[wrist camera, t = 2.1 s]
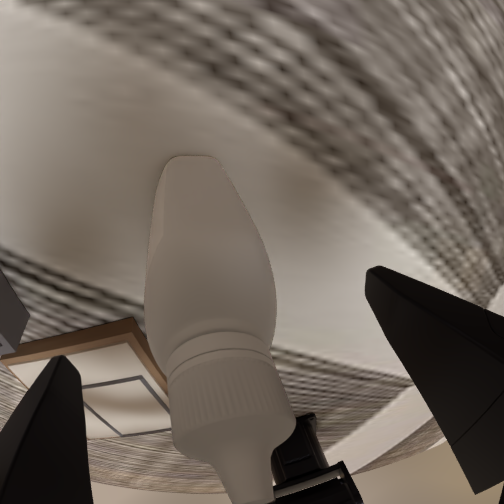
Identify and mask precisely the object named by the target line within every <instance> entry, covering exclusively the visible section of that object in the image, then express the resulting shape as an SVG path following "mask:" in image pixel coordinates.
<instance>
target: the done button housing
mask: <svg viewBox="0 0 504 504" xmlns="http://www.w3.org/2000/svg"><path fill="white" fill-rule="evenodd" d="M29 317H30V315H29V313H28V312H27V311H26V309H25V308H24V306H23V305H22V303H21V302H20V300H19V299H18V297H17V296H16V294H15V293H14V291H13V290H12V288H11V286H10V285H9V283H8V282H7V280H6V278H5V277H4V275H3V273H2V272H1V270H0V355H4V354H9V353H14V352H16V351H17V348H18V345H19V342H20V340H21V337H22V334H23V332H24V329H25V327H26V324H27V322H28V319H29Z"/></svg>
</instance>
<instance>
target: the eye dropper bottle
mask: <svg viewBox="0 0 504 504" xmlns="http://www.w3.org/2000/svg"><path fill="white" fill-rule="evenodd" d="M276 314H277V301H276V290H275V283H274V278H273V273H272V269H271V265H270V261H269V258H268V255H267V253H266V250H265V247H264V244H263V242H262V239H261V237H260V235H259V233H258V231H257V229H256V227H255V225H254V223H253V221H252V219H251V217H250V215H249V213H248V211H247V209H246V208H245V206H244V204H243V202H242V200H241V199H240V197H239V195H238V193H237V191H236V190H235V188H234V186H233V184H232V183H231V181H230V179H229V177H228V176H227V174H226V172H225V170H224V169H223V167H222V165H221V164H220V163H219V161H218V160H217V159H216V158H213V157H210V156H177V157H174V158H172V159H171V160H170V161H169V162H168V163H167V164H166V166H165V168H164V170H163V172H162V174H161V177H160V180H159V182H158V186H157V190H156V194H155V199H154V206H153V213H152V221H151V229H150V238H149V247H148V256H147V267H146V280H145V295H144V320H145V329H146V335H147V339H148V343H149V346H150V349H151V352H152V355H153V357H154V359H155V361H156V363H157V364H158V366H159V368H160V369H161V371H162V372H163V373H164V374H165V376H166V377H167V386H168V398H169V409H170V419H171V428H172V437H173V443H174V446H175V448H176V449H177V450H178V451H179V452H180V453H182V454H183V455H185V456H187V457H189V458H192V459H195V460H199V461H204V462H208V463H210V464H211V465H212V466H213V467H214V468H215V470H216V471H217V473H218V475H219V477H220V479H221V481H222V483H223V485H224V487H225V490H226V492H227V494H228V496H229V498H230V499H231V502H232V504H267V503H269V502H272V501H273V500H274V494H273V484H272V474H271V458H270V457H271V454H272V452H273V450H274V448H276V447H277V446H279V445H280V444H282V443H283V442H284V441H286V440H287V439H288V438H289V437H290V436H291V434H292V433H293V431H294V429H295V426H296V418H295V415H294V413H293V410H292V408H291V405H290V402H289V400H288V397H287V395H286V392H285V390H284V387H283V384H282V382H281V379H280V377H279V374H278V371H277V369H276V366H275V364H274V361H273V358H272V356H271V353H270V347H271V344H272V340H273V337H274V332H275V326H276Z"/></svg>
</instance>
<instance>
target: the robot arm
mask: <svg viewBox="0 0 504 504" xmlns="http://www.w3.org/2000/svg"><path fill="white" fill-rule="evenodd" d="M365 296H366V299H367V301H368V303H369V305H370V307H371V309H372V311H373V312H374V314H375V316H376V318H377V320H378V322H379V324H380V326H381V328H382V330H383V332H384V334H385V336H386V338H387V340H388V342H389V343H390V345H391V347H392V348H393V350H394V351H395V353H396V354H397V356H398V358H399V359H400V361H401V362H402V364H403V366H404V367H405V369H406V370H407V372H408V374H409V375H410V377H411V379H412V380H413V382H414V384H415V385H416V387H417V388H418V390H419V392H420V394H421V395H422V397H423V399H424V400H425V402H426V404H427V405H428V407H429V409H430V411H431V412H432V414H433V416H434V418H435V419H436V421H437V423H438V425H439V426H440V428H441V430H442V432H443V434H444V435H445V437H446V439H447V441H448V443H449V445H450V446H451V449H452V451H453V453H454V454H455V456H456V458H457V460H458V462H459V464H460V466H461V468H462V470H463V472H464V474H465V476H466V478H467V480H468V482H469V484H470V486H471V488H472V490H473V492H474V493H475V495H476V494H478V493H480V492H483V491H484V490H487V489H489V488H491V487H493V486H495V485H496V484H499V483H500V482H502V481H504V317H503V316H501V315H498V314H496V313H494V312H491V311H489V310H487V309H483V308H482V307H480V306H477V305H475V304H473V303H470V302H468V301H466V300H463V299H461V298H459V297H456V296H454V295H452V294H449V293H447V292H445V291H442V290H440V289H437V288H435V287H433V286H430V285H428V284H425V283H423V282H420V281H418V280H416V279H413V278H411V277H408V276H406V275H403V274H401V273H398V272H396V271H393V270H391V269H388V268H386V267H383V266H376V267H373V268H370V269H368V270H367V272H366V281H365ZM270 458H271V471H272V474H273V477H274V480H275V483H276V485H275V486H273V494H274V500H273V501H272V502H269V503H267V504H364V503H363V500H362V498H361V495H360V493H359V491H358V489H357V487H356V485H355V483H354V481H353V479H352V477H351V475H350V474H349V472H348V470H347V468H346V466H345V464H344V462H343V461H340V462H338V463H337V464H335V465H333V466H330V467H329V465H328V462H327V460H326V458H325V455H324V453H323V451H322V448H321V446H320V444H319V441H318V439H317V436H316V416H315V414H310V415H307V416H304V417H301V418H298V419H296V426H295V429H294V431H293V433H292V434H291V436H290V437H289V438H288V439H287V440H286V441H284V442H283V443H282V444H280V445H279V446H277V447H276V448H274V450H273V452H272V454H271V457H270ZM337 476H340V477H341V478H340V479H338V478H337ZM335 477H336V478H335ZM332 478H333V479H332ZM330 479H331V480H330ZM327 480H328V481H327ZM325 481H326V482H325ZM322 482H323V483H322ZM319 483H321V484H319ZM317 484H318V485H317ZM314 485H315V486H314ZM311 486H312V487H311ZM308 487H309V488H308ZM305 488H307V489H305ZM302 489H304V490H302ZM299 490H301V491H299ZM296 491H298V492H296ZM293 492H294V493H293ZM290 493H291V494H290ZM287 494H288V495H287ZM283 495H285V496H283ZM280 496H281V497H280ZM276 497H278V498H276ZM0 504H93V497H92V490H91V482H90V473H89V464H88V452H87V436H86V420H85V411H84V402H83V393H82V381H81V375H80V373H79V371H78V370H77V369H76V367H75V366H74V365H73V364H72V363H71V362H70V360H69V359H68V358H67V357H66V356H64V355H59V356H54V357H52V358H51V359H50V361H49V362H48V363H47V365H46V366H45V367H44V369H43V370H42V371H41V373H40V374H39V376H38V377H37V378H36V380H35V381H34V383H33V384H32V385H31V387H30V388H29V390H28V391H27V392H26V394H25V395H24V397H23V398H22V400H21V401H20V403H19V404H18V406H17V407H16V409H15V410H14V412H13V413H12V415H11V416H10V418H9V419H8V421H7V422H6V424H5V426H4V427H3V429H2V430H1V432H0ZM499 504H504V486H503V489H502V493H501V497H500V501H499Z"/></svg>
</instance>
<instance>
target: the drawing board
mask: <svg viewBox="0 0 504 504" xmlns="http://www.w3.org/2000/svg"><path fill="white" fill-rule="evenodd" d="M59 355H64V356H66V357H67V358H68V359H69V360H70V362H71V363H72V364H73V365H74V366H75V367H76V369H77V370H78V371H79V373H80V375H81V381H82V393H83V402H84V411H85V420H86V436H87V439H88V440H91V439H105V438H116V437H129V436H137V435H145V434H152V433H158V432H164V431H170V430H172V428H171V419H170V409H169V398H168V386H167V377H166V376H165V374H164V373H163V372H162V371H161V369H160V368H159V366H158V364H157V363H156V361H155V359H154V357H153V355H152V352H151V349H150V346H149V343H148V342H147V340H146V338H145V337H144V335H143V333H142V332H141V330H140V328H139V327H138V325H137V323H136V322H135V320H134V318H133V317H131V318H127V319H123V320H119V321H115V322H111V323H108V324H104V325H100V326H96V327H92V328H87V329H83V330H79V331H75V332H71V333H67V334H63V335H58V336H54V337H50V338H46V339H41V340H37V341H32V342H28V343H23V344H19V345H18V348H17V351H16V352H14V353H9V354H4V355H2V356H1V358H0V361H1V362H2V363H3V364H4V365H5V366H6V368H7V369H8V370H9V371H10V372H11V373H12V374H13V375H14V376H15V377H16V378H17V379H18V380H19V381H20V382H21V383H22V384H23V385H24V386H25V387H26V388H27V389H28V390H29V388H30V387H31V385H32V384H33V383H34V381H35V380H36V378H37V377H38V376H39V374H40V373H41V371H42V370H43V369H44V367H45V366H46V365H47V363H48V362H49V361H50V359H51V358H52V357H54V356H59Z"/></svg>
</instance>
